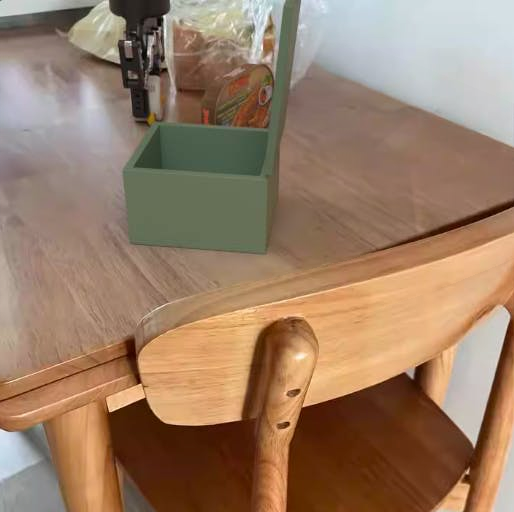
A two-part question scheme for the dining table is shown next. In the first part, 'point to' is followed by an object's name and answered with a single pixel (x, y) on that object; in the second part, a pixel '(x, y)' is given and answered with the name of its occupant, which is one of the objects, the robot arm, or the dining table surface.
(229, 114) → the tin
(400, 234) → the dining table surface
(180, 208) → the chest
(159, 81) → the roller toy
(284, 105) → the lid
